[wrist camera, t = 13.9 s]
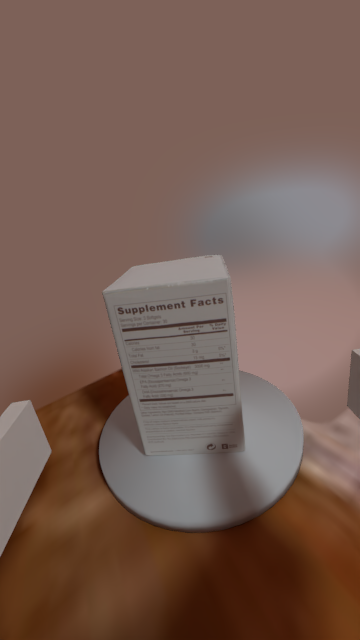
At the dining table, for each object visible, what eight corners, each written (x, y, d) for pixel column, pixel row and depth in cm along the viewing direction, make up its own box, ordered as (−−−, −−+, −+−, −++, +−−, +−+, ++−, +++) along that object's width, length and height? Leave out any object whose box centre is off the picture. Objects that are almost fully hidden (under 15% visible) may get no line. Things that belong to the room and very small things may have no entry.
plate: (56, 490, 19) (51, 480, 19) (157, 369, 33) (155, 362, 33) (303, 579, 13) (303, 566, 13) (303, 383, 26) (303, 374, 26)
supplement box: (158, 395, 26) (131, 264, 22) (236, 390, 25) (224, 251, 21) (142, 459, 20) (96, 290, 15) (247, 456, 19) (233, 272, 14)
